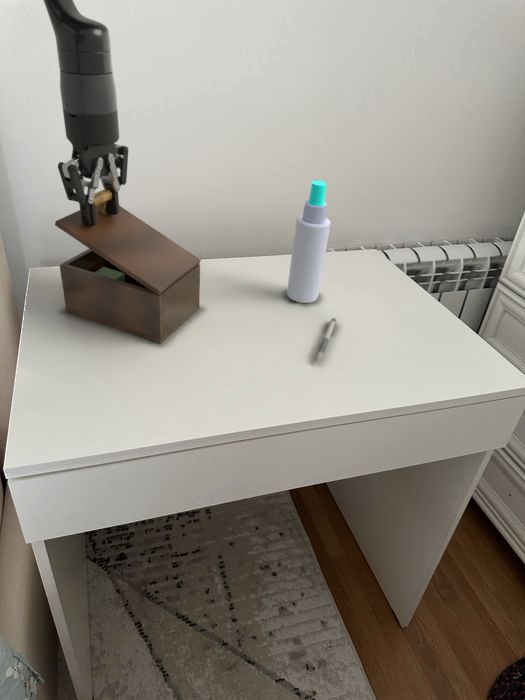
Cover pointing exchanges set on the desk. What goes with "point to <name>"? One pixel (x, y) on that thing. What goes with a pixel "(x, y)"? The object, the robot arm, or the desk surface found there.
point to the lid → (131, 245)
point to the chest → (127, 298)
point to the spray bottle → (309, 247)
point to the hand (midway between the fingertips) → (101, 218)
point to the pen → (325, 339)
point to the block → (111, 274)
